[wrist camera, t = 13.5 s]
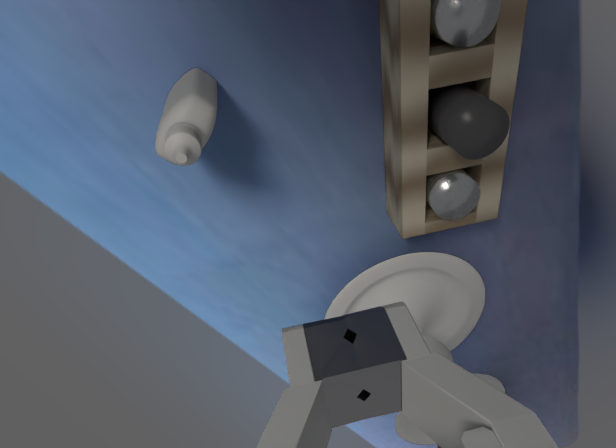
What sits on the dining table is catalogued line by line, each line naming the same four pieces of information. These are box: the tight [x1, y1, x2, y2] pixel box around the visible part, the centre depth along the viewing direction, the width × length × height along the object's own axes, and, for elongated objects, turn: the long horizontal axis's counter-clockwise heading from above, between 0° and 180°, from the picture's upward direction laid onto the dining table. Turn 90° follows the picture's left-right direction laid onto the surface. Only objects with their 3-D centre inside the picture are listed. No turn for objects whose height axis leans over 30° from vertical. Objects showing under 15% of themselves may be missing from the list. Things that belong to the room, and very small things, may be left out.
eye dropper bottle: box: [155, 68, 217, 166], centre depth 32 cm, size 4×6×12 cm
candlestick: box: [324, 252, 505, 445], centre depth 45 cm, size 21×25×28 cm
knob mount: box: [379, 0, 528, 239], centre depth 39 cm, size 24×10×5 cm, turn 8°
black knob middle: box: [428, 84, 510, 160], centre depth 36 cm, size 5×5×5 cm
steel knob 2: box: [426, 168, 480, 220], centre depth 43 cm, size 5×5×5 cm
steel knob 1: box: [430, 0, 500, 48], centre depth 34 cm, size 5×5×5 cm
